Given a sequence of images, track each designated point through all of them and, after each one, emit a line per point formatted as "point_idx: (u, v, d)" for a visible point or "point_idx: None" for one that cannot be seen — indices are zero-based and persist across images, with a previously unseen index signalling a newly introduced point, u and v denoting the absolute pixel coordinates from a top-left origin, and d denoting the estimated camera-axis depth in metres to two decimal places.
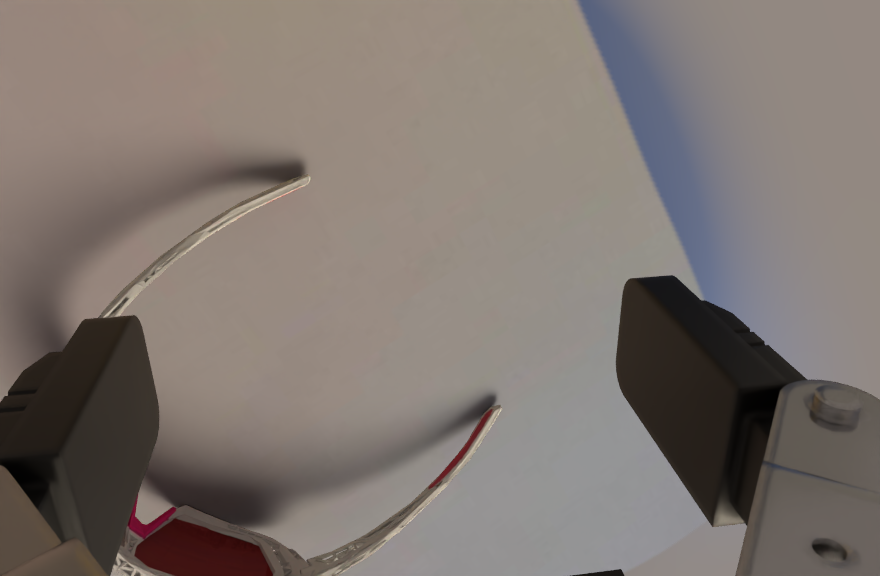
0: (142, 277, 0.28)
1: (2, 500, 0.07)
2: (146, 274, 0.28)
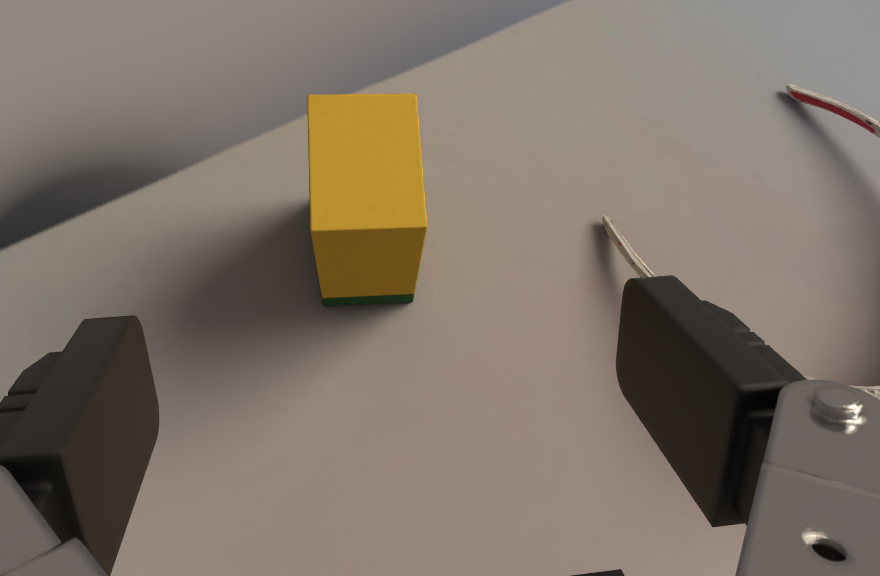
0: None
1: (2, 500, 0.07)
2: None
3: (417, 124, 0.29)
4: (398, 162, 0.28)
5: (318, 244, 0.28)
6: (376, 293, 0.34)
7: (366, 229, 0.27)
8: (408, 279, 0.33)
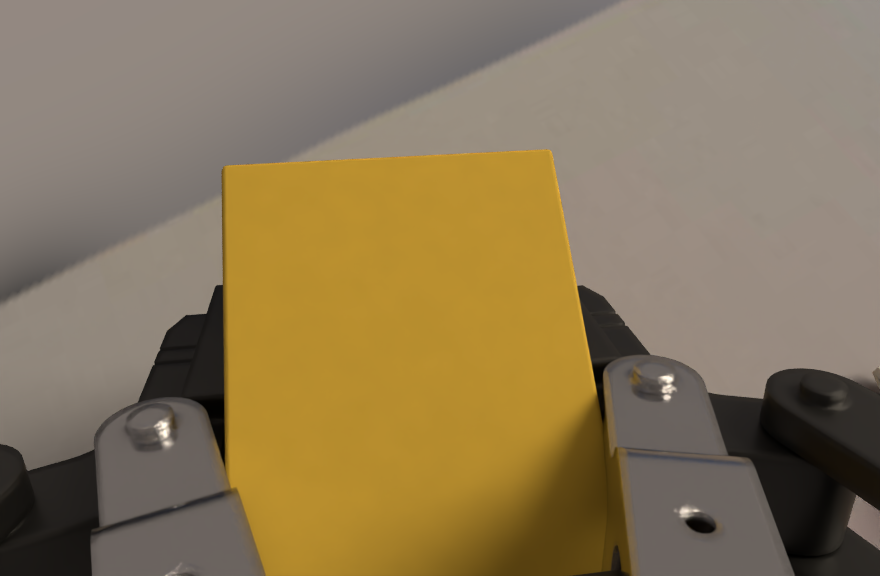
0: None
1: (205, 428, 0.08)
2: None
3: (566, 247, 0.09)
4: (520, 381, 0.09)
5: None
6: None
7: None
8: None
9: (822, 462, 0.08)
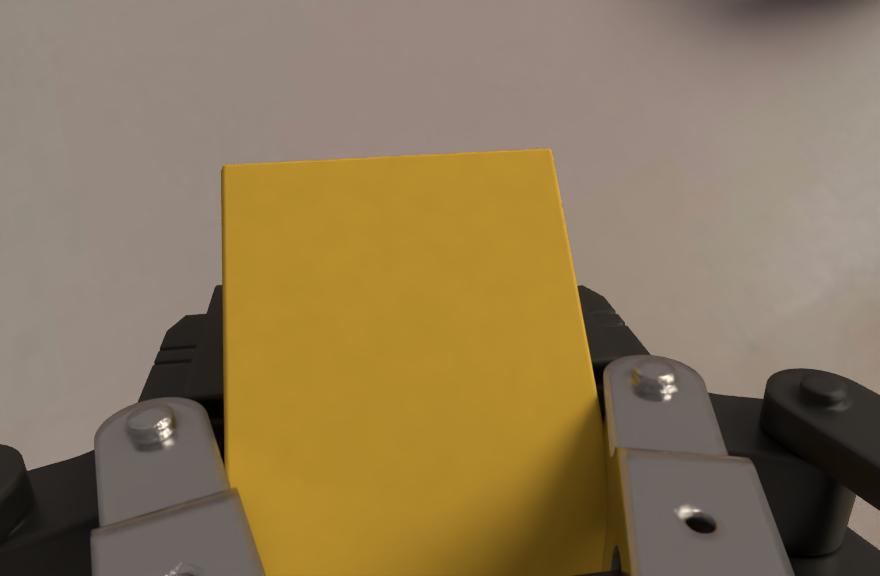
0: None
1: (205, 428, 0.08)
2: None
3: (566, 246, 0.09)
4: (520, 380, 0.09)
5: None
6: None
7: None
8: None
9: (822, 462, 0.08)
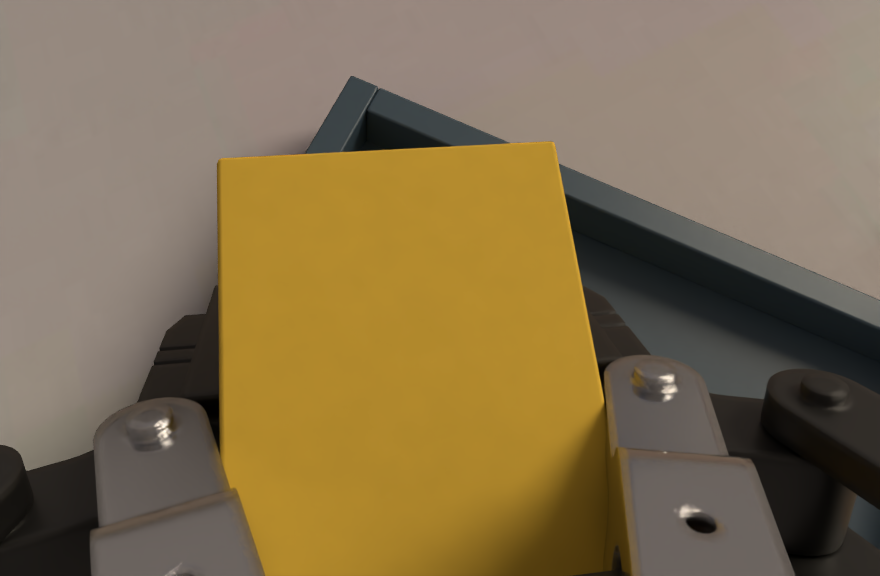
0: None
1: (203, 428, 0.08)
2: None
3: (570, 240, 0.09)
4: (524, 378, 0.08)
5: None
6: None
7: None
8: None
9: (823, 462, 0.08)
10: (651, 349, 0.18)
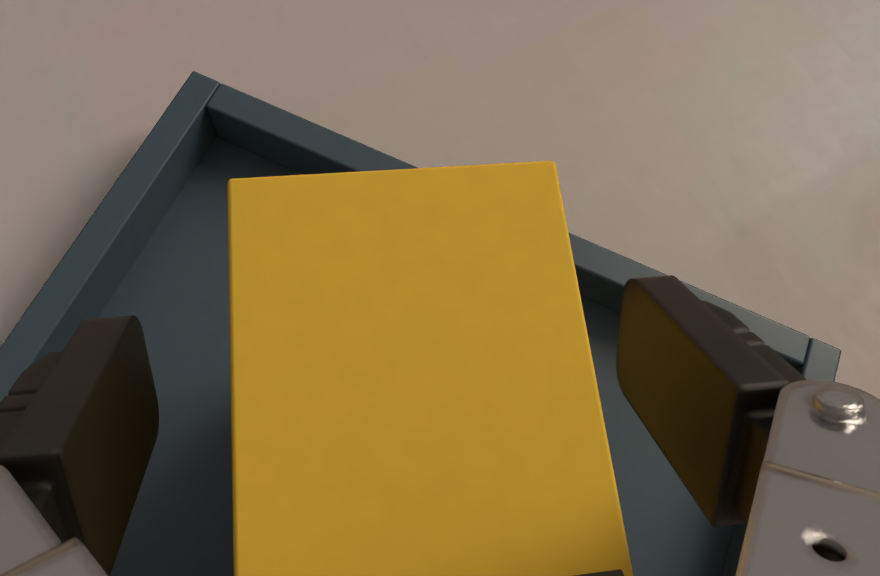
0: None
1: (2, 500, 0.07)
2: None
3: (570, 258, 0.09)
4: (523, 393, 0.09)
5: None
6: None
7: None
8: None
9: None
10: None
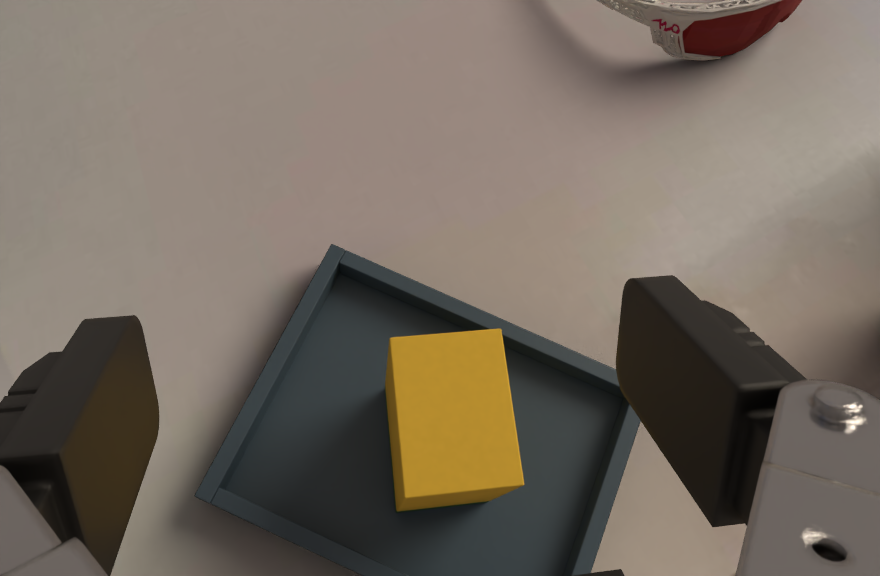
0: None
1: (2, 500, 0.07)
2: None
3: (505, 364, 0.28)
4: (488, 410, 0.27)
5: (408, 500, 0.27)
6: (453, 504, 0.33)
7: (462, 492, 0.26)
8: (489, 498, 0.32)
9: None
10: None
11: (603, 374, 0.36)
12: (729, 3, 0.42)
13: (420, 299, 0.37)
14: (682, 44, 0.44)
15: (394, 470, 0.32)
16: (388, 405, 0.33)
